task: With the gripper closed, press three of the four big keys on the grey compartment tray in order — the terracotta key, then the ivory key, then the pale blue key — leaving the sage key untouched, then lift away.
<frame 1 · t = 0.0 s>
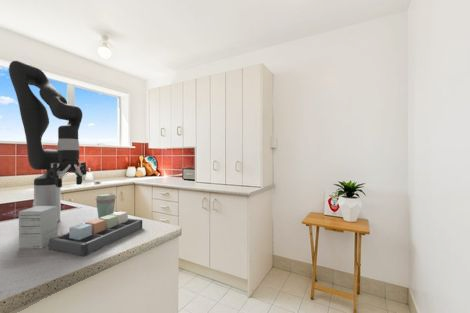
hand: (69, 185, 94), 17 cm above the counter, tool pointing down, fingers open, 8 cm apart
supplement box: (39, 244, 74), on the counter
grey compartment tray: (101, 237, 80), on the counter
pale blue key: (80, 231, 72), point 5 cm above the counter, slide at 0.0 cm
sage key: (108, 221, 83), point 5 cm above the counter, slide at 0.0 cm
coffee cup: (105, 219, 102), on the counter
ivory key: (119, 217, 88), point 5 cm above the counter, slide at 0.0 cm
terracotta key: (95, 226, 78), point 5 cm above the counter, slide at 0.0 cm
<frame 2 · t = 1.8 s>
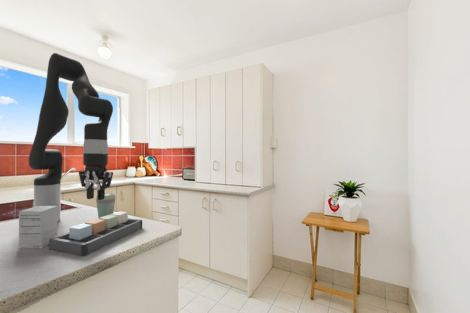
hand: (95, 198, 77), 15 cm above the counter, tool pointing down, fingers open, 4 cm apart
nothing on the counter moved.
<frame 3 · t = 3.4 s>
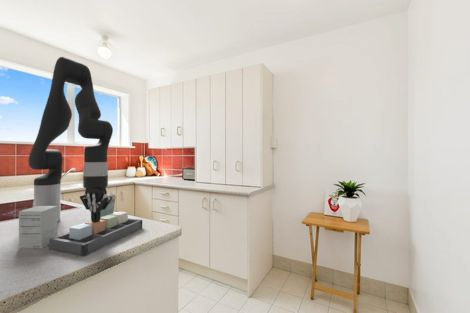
hand: (95, 221, 77), 7 cm above the counter, tool pointing down, fingers closed
terracotta key: (95, 226, 78), point 5 cm above the counter, slide at 0.1 cm, touching gripper
everything else where it was.
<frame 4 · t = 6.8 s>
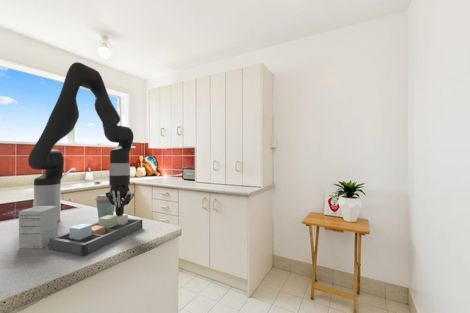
hand: (119, 215, 88), 6 cm above the counter, tool pointing down, fingers closed
ivory key: (119, 219, 88), point 4 cm above the counter, slide at 0.9 cm, touching gripper
terracotta key: (95, 232, 78), point 3 cm above the counter, slide at 2.4 cm
everything else where it was.
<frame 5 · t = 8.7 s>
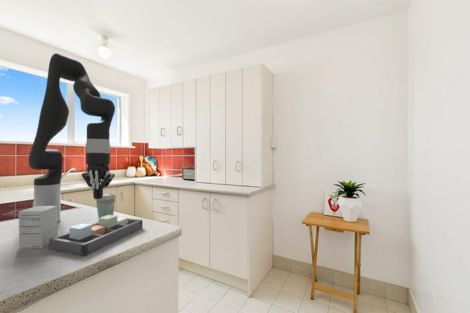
hand: (98, 198, 78), 15 cm above the counter, tool pointing down, fingers closed
ivory key: (119, 223, 88), point 3 cm above the counter, slide at 2.4 cm
everything else where it was.
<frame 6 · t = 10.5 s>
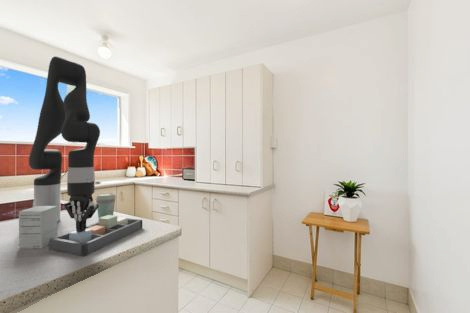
hand: (81, 231, 72), 5 cm above the counter, tool pointing down, fingers closed
pale blue key: (80, 236, 72), point 4 cm above the counter, slide at 1.7 cm, touching gripper
everything else where it was.
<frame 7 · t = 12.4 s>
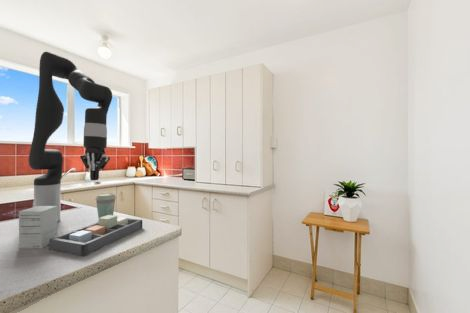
hand: (94, 180, 83), 21 cm above the counter, tool pointing down, fingers closed
pale blue key: (80, 238, 72), point 3 cm above the counter, slide at 2.4 cm
everything else where it was.
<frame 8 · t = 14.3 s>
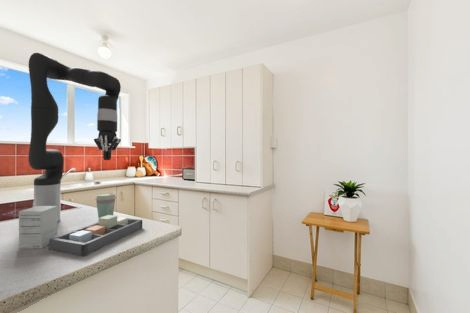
hand: (107, 160, 93), 29 cm above the counter, tool pointing down, fingers closed
nothing on the counter moved.
at the end: terracotta key slide at 2.4 cm; ivory key slide at 2.4 cm; pale blue key slide at 2.4 cm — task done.
